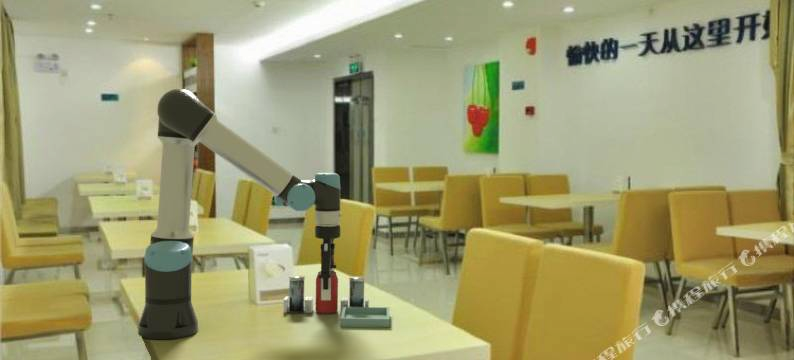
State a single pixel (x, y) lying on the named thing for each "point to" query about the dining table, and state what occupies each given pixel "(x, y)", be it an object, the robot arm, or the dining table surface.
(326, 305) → the beer can
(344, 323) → the tray
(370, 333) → the dining table surface
